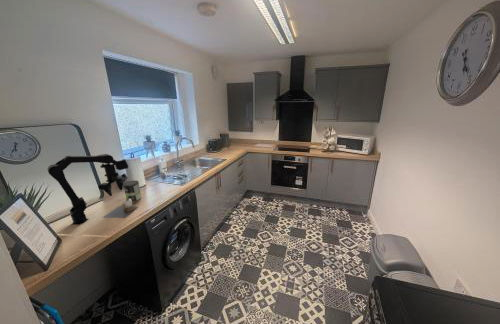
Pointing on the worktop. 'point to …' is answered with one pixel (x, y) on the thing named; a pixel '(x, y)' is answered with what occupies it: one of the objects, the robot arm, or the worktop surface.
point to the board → (118, 213)
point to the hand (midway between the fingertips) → (116, 192)
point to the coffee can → (132, 190)
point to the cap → (128, 203)
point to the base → (129, 209)
